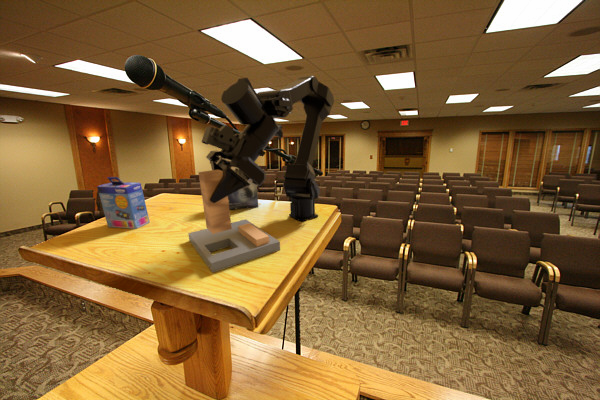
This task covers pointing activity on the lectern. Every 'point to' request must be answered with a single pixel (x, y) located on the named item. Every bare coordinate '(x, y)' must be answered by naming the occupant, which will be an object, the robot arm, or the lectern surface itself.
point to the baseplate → (233, 245)
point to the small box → (244, 197)
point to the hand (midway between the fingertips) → (208, 199)
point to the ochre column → (214, 212)
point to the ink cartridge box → (123, 204)
